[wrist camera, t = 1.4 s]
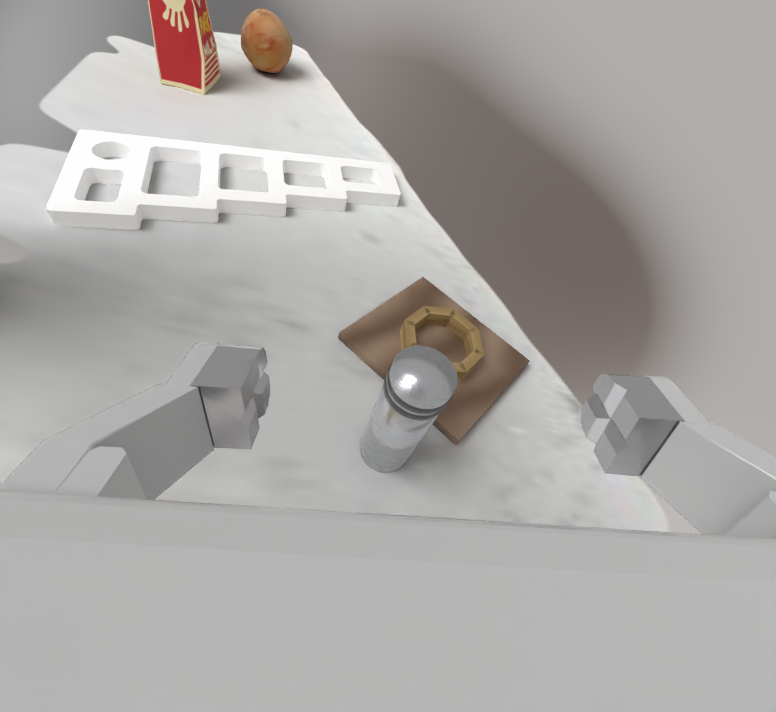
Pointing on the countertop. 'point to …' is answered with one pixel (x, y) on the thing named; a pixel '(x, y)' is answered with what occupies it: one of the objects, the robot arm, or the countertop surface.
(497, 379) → the ring stand
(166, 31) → the milk carton
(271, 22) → the onion
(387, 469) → the piston
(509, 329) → the countertop surface
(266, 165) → the holder
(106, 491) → the robot arm
